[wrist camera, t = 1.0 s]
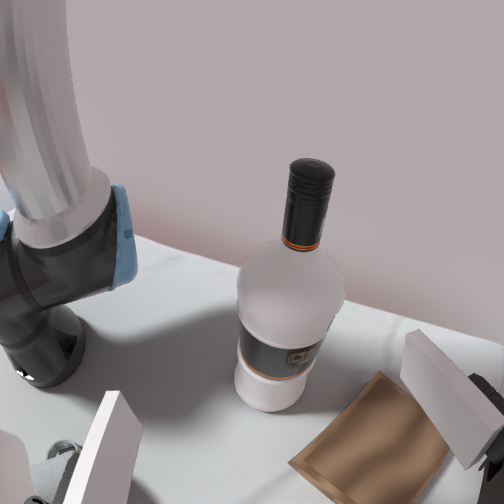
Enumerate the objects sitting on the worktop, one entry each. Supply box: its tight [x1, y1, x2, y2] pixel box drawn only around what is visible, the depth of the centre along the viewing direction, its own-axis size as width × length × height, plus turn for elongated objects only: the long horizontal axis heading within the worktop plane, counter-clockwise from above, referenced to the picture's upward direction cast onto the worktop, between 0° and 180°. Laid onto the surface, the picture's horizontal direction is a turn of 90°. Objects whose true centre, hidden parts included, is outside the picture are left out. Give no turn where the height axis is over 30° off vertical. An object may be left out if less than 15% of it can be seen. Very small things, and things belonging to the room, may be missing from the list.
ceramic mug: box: [30, 439, 82, 504], centre depth 19 cm, size 11×8×8 cm
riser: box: [288, 371, 450, 504], centre depth 25 cm, size 16×16×4 cm
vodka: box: [234, 158, 345, 412], centre depth 25 cm, size 9×9×30 cm
